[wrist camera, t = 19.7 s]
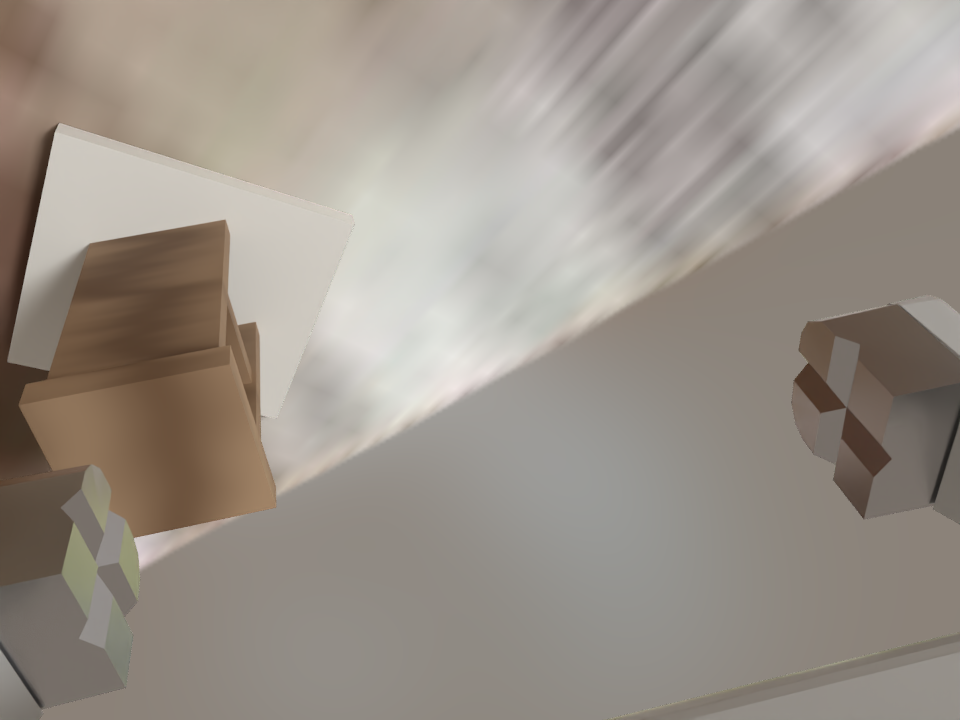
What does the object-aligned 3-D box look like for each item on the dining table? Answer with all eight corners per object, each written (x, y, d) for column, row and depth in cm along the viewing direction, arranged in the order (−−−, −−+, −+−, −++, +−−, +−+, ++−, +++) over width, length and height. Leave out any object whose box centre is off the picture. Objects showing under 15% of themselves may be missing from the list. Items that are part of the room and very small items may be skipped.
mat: (11, 350, 43) (7, 362, 42) (59, 122, 37) (55, 131, 36) (276, 407, 48) (276, 418, 47) (352, 214, 42) (354, 224, 41)
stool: (127, 365, 43) (91, 546, 34) (75, 239, 39) (18, 405, 30) (271, 338, 44) (276, 507, 34) (235, 211, 40) (229, 364, 30)
